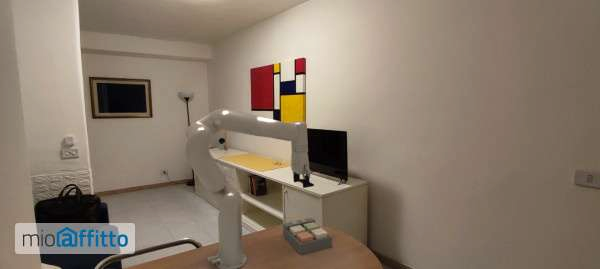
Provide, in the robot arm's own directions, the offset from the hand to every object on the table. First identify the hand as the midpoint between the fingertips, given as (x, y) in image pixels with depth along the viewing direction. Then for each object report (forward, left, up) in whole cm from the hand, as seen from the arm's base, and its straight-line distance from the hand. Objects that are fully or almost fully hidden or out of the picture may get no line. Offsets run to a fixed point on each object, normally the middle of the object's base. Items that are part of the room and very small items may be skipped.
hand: (301, 184), depth 133 cm
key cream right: (+6, -6, -24) cm, 25 cm away
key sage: (+6, +1, -24) cm, 24 cm away
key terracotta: (-2, -6, -24) cm, 24 cm away
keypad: (+2, -1, -28) cm, 28 cm away
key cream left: (-2, +1, -24) cm, 24 cm away
